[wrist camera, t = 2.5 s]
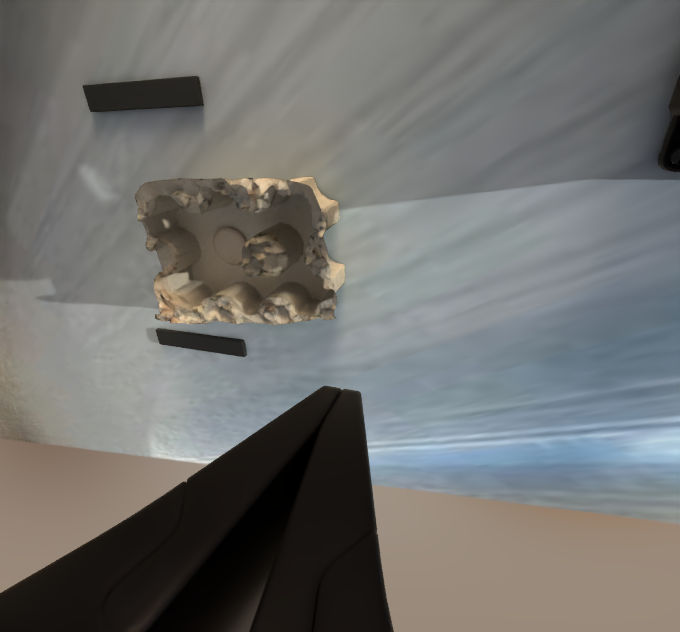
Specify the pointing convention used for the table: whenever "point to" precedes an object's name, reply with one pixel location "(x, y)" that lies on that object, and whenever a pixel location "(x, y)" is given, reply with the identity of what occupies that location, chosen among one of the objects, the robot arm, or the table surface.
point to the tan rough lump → (241, 249)
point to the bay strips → (149, 97)
